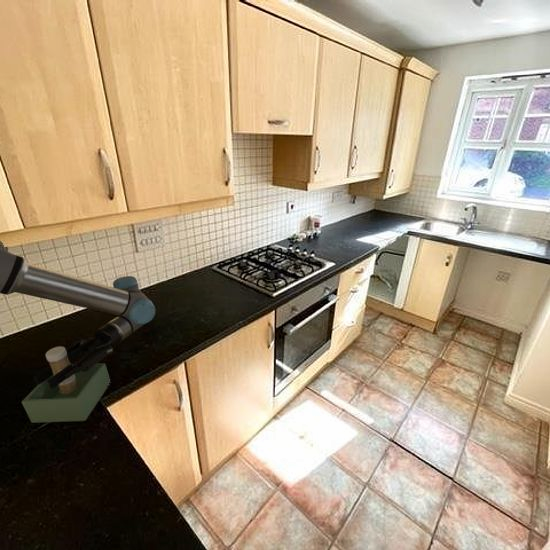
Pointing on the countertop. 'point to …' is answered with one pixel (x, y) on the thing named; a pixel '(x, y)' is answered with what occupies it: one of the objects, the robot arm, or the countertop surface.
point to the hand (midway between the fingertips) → (43, 382)
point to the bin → (68, 397)
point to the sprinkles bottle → (61, 368)
